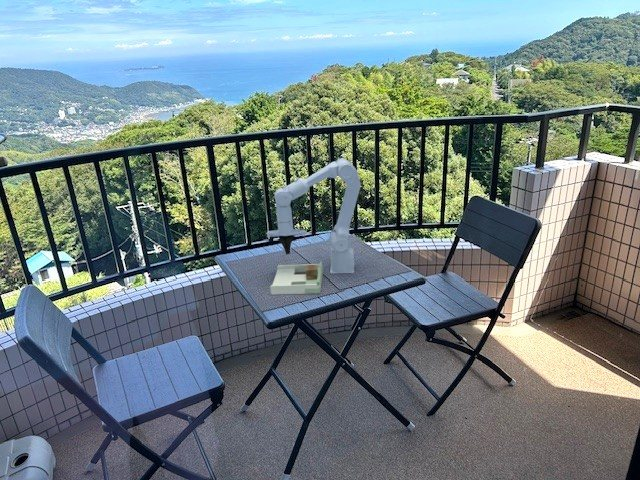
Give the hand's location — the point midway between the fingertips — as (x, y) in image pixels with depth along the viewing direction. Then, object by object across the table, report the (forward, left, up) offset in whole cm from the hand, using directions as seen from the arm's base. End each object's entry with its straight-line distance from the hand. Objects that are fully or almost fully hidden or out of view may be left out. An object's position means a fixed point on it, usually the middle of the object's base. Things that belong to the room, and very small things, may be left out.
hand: (288, 253), depth 172 cm
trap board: (-4, +7, -9) cm, 12 cm away
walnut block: (-9, +7, -7) cm, 14 cm away
